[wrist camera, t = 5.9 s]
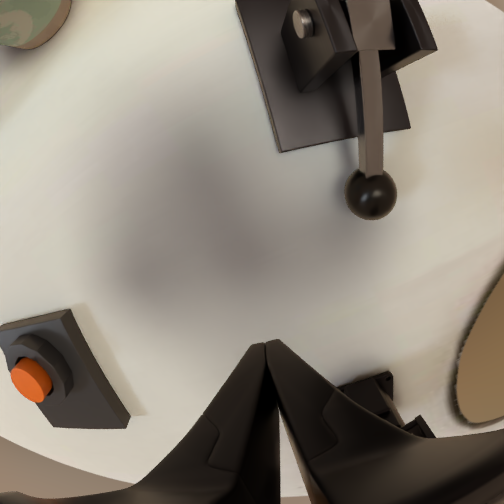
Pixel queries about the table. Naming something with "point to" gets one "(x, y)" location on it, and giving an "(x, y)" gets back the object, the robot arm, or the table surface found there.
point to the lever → (369, 108)
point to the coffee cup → (31, 21)
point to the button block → (65, 372)
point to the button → (31, 380)
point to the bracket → (324, 66)
